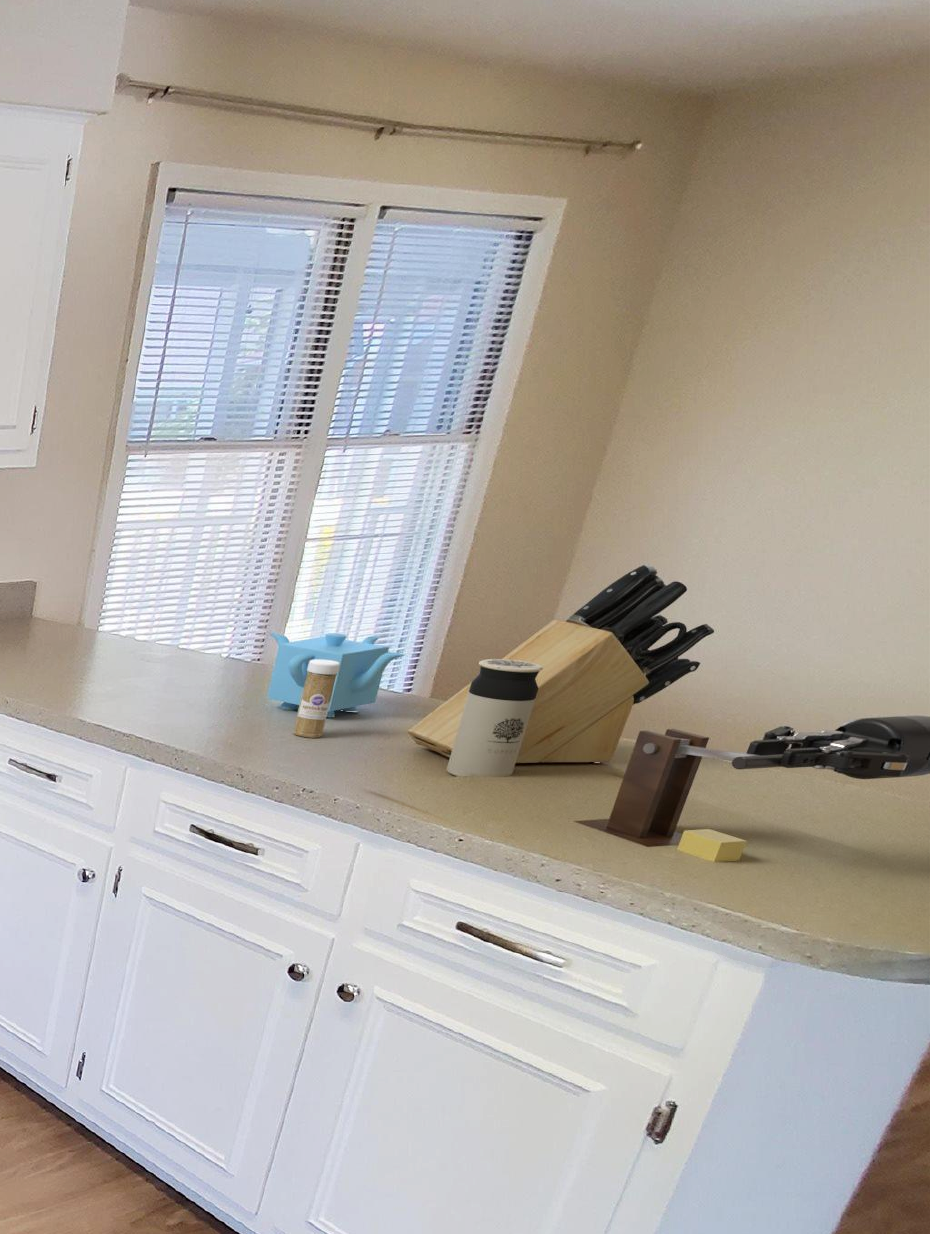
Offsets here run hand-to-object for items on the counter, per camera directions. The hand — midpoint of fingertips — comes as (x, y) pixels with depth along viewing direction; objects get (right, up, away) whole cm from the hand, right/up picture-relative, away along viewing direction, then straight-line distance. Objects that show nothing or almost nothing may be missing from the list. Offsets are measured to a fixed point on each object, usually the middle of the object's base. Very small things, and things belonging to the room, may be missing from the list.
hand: (768, 754), depth 135 cm
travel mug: (0, 0, +41) cm, 41 cm away
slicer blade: (-1, -1, +6) cm, 6 cm away
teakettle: (+3, +15, +81) cm, 82 cm away
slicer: (-1, -10, +15) cm, 18 cm away
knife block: (+16, +4, +50) cm, 53 cm away
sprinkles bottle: (-11, +8, +65) cm, 66 cm away
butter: (0, -13, +7) cm, 15 cm away
